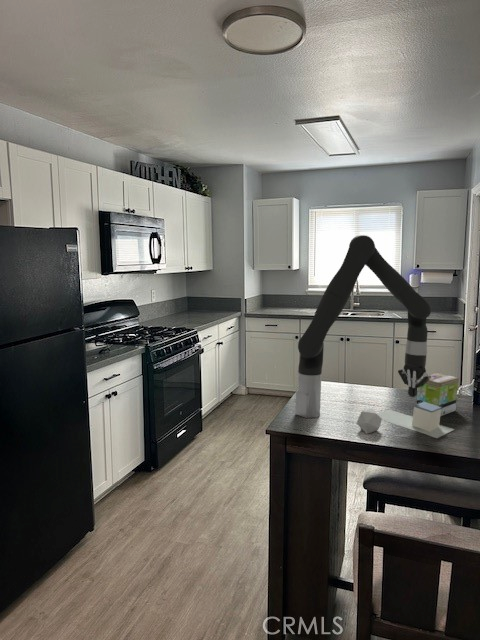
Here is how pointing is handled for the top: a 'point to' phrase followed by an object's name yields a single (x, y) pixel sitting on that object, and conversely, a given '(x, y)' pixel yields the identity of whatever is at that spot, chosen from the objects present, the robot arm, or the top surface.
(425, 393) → the tea box
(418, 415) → the cream block
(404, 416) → the mat
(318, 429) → the top surface
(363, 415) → the die
